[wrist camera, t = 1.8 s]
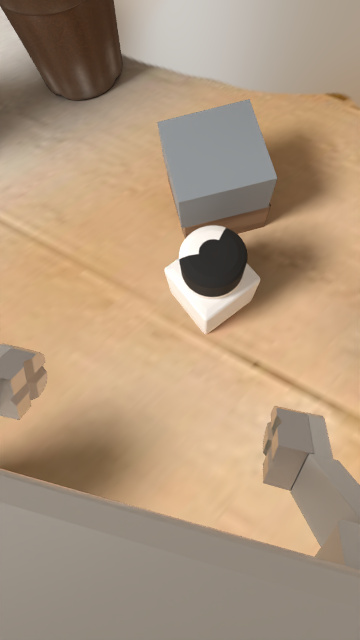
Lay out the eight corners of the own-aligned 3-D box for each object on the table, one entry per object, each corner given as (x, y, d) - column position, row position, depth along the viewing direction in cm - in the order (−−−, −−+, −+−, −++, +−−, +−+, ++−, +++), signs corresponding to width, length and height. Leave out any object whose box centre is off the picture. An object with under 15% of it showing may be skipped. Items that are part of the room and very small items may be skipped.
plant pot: (111, 13, 53) (72, -151, 37) (155, 82, 49) (132, -69, 33) (18, 56, 52) (-62, -93, 36) (55, 130, 48) (-17, -2, 32)
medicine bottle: (252, 300, 40) (272, 258, 28) (205, 336, 39) (205, 308, 27) (215, 257, 41) (219, 200, 30) (169, 290, 41) (155, 246, 29)
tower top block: (163, 156, 40) (157, 122, 35) (243, 135, 40) (249, 99, 35) (181, 228, 37) (178, 202, 33) (268, 207, 37) (277, 178, 32)
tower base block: (168, 182, 45) (164, 156, 40) (240, 163, 45) (244, 134, 40) (187, 248, 42) (185, 228, 37) (263, 227, 42) (270, 205, 37)
